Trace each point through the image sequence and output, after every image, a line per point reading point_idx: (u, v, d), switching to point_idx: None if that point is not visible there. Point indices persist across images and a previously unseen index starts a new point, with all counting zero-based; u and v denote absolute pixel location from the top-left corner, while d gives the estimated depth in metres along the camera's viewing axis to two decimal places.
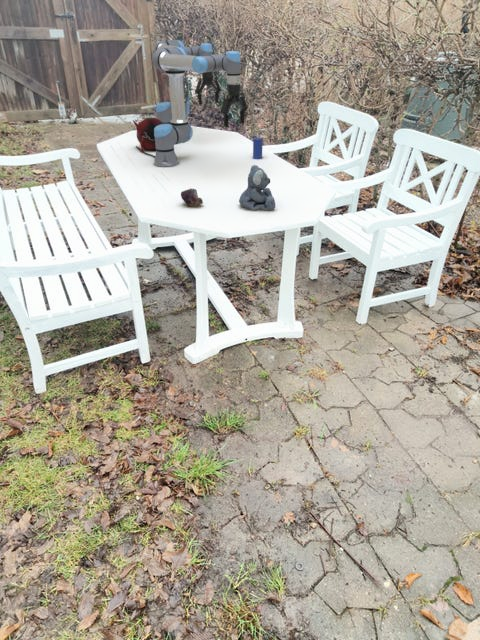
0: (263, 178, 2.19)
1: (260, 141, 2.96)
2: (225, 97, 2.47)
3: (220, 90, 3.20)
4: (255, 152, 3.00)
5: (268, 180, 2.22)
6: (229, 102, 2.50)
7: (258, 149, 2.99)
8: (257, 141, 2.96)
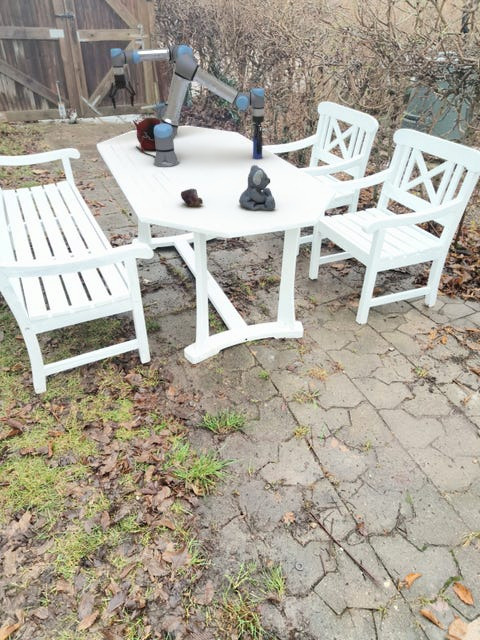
0: (263, 178, 2.19)
1: None
2: (260, 129, 2.89)
3: (135, 94, 3.27)
4: (255, 152, 3.00)
5: (268, 180, 2.22)
6: None
7: None
8: None
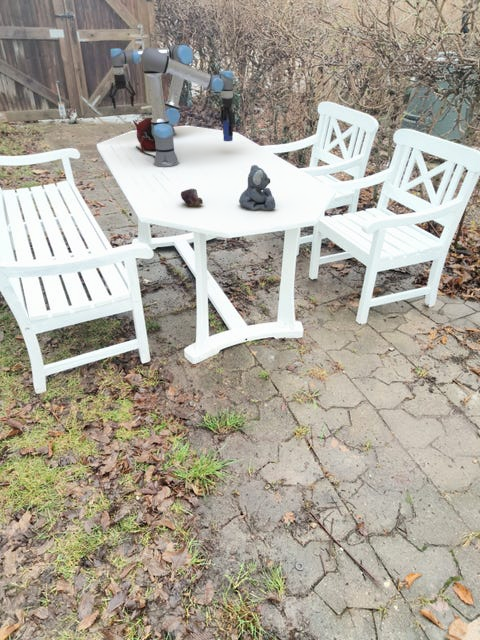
0: (263, 178, 2.19)
1: None
2: (233, 111, 2.95)
3: (135, 94, 3.27)
4: (227, 134, 3.05)
5: (268, 180, 2.22)
6: (230, 114, 2.98)
7: None
8: None
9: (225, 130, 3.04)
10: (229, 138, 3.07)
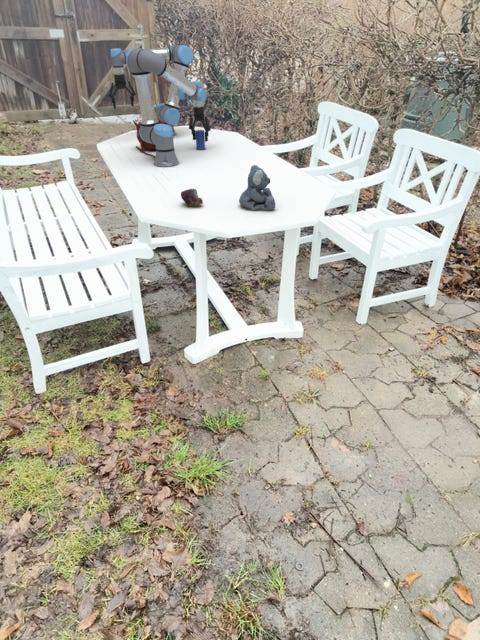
0: (263, 178, 2.19)
1: None
2: (207, 118, 3.11)
3: (135, 94, 3.27)
4: (201, 143, 3.21)
5: (268, 180, 2.22)
6: (203, 121, 3.14)
7: (203, 140, 3.21)
8: (202, 133, 3.17)
9: (199, 140, 3.19)
10: (203, 147, 3.23)
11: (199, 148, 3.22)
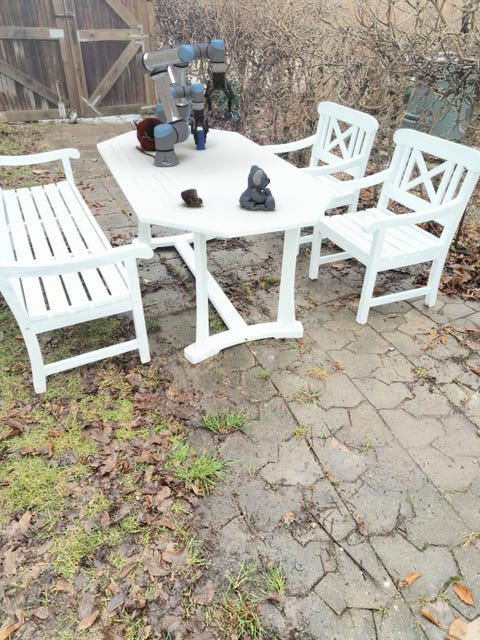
0: (263, 178, 2.19)
1: None
2: (229, 84, 2.58)
3: (208, 131, 3.21)
4: (201, 143, 3.21)
5: (268, 180, 2.22)
6: (225, 89, 2.61)
7: (203, 140, 3.21)
8: (202, 133, 3.17)
9: (199, 140, 3.19)
10: (203, 147, 3.23)
11: (199, 148, 3.22)
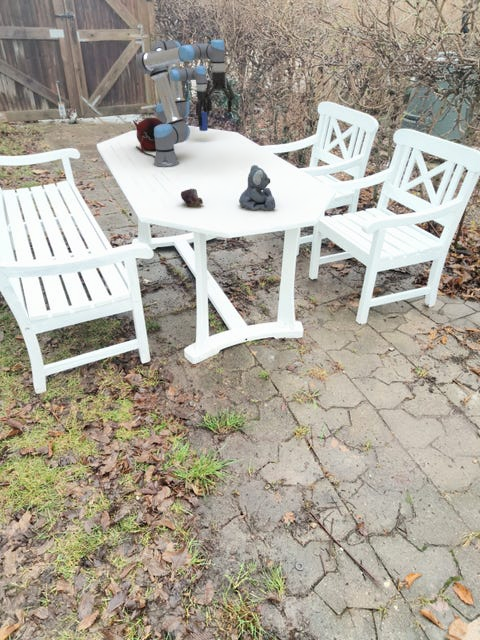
0: (263, 178, 2.19)
1: None
2: (229, 84, 2.58)
3: None
4: (205, 124, 3.34)
5: (268, 180, 2.22)
6: (225, 89, 2.61)
7: None
8: (206, 114, 3.30)
9: (204, 121, 3.31)
10: (207, 127, 3.36)
11: (203, 129, 3.35)
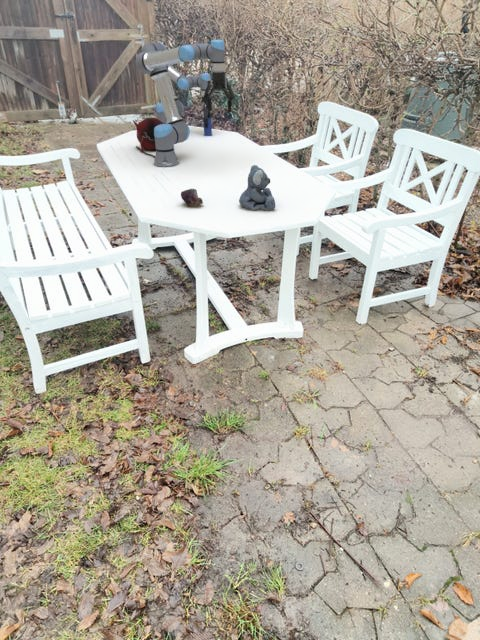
0: (263, 178, 2.19)
1: None
2: (229, 84, 2.58)
3: (210, 113, 3.61)
4: (211, 129, 3.59)
5: (268, 180, 2.22)
6: (225, 89, 2.61)
7: None
8: None
9: (210, 126, 3.56)
10: (211, 132, 3.61)
11: (210, 134, 3.59)
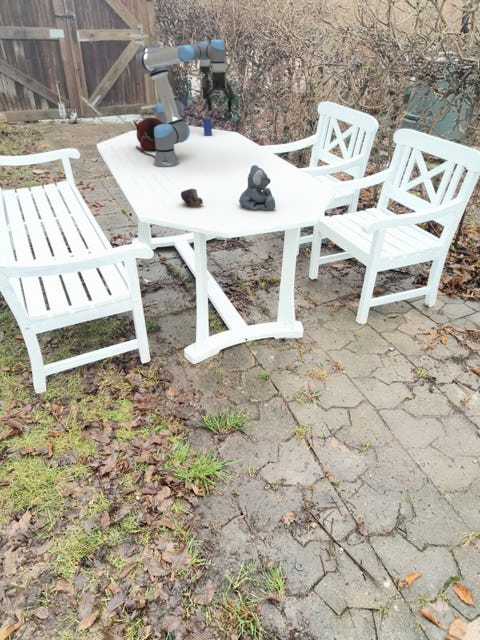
0: (263, 178, 2.19)
1: None
2: (229, 84, 2.58)
3: None
4: (211, 129, 3.59)
5: (268, 180, 2.22)
6: (225, 89, 2.61)
7: None
8: None
9: (210, 126, 3.56)
10: (211, 132, 3.61)
11: (210, 134, 3.59)
